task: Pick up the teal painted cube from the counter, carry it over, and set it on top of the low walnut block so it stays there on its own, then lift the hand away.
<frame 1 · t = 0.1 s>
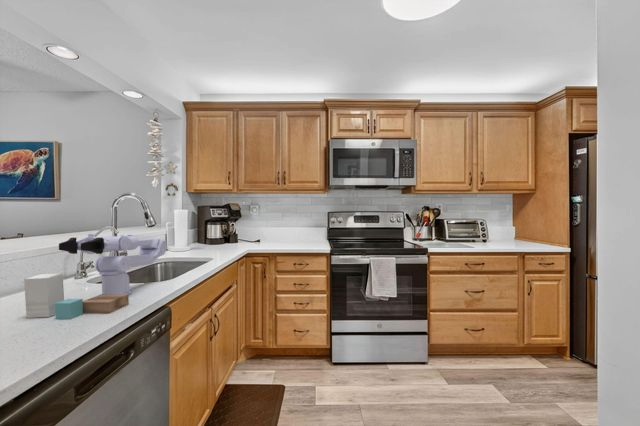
hand: (70, 246, 114), 22 cm above the worktop, tool horizontal, fingers open, 7 cm apart
teal cube: (69, 316, 110), on the worktop
supplement box: (46, 314, 113), on the worktop
walnut block: (105, 309, 117), on the worktop
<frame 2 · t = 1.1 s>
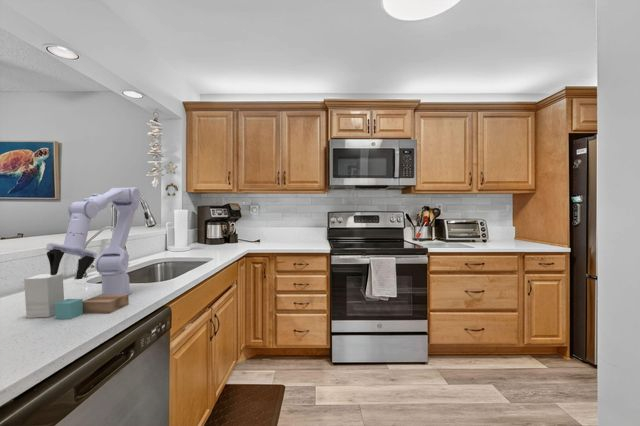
hand: (66, 277, 110), 13 cm above the worktop, tool tilted 20°, fingers open, 7 cm apart
nothing on the worktop moved.
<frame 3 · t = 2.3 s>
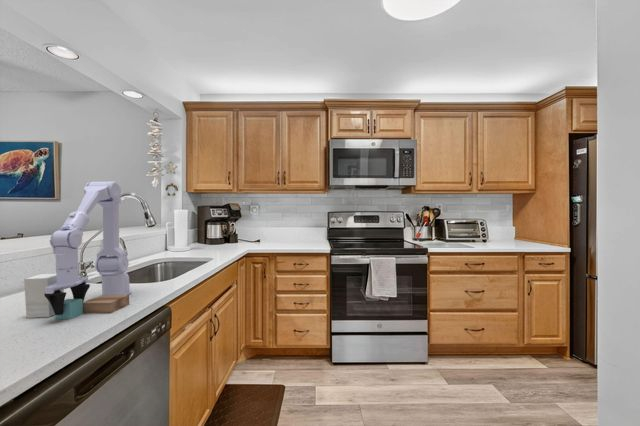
hand: (69, 310, 110), 2 cm above the worktop, tool pointing down, fingers open, 7 cm apart
walnut block: (106, 310, 118), on the worktop, touching gripper
everything else where it was.
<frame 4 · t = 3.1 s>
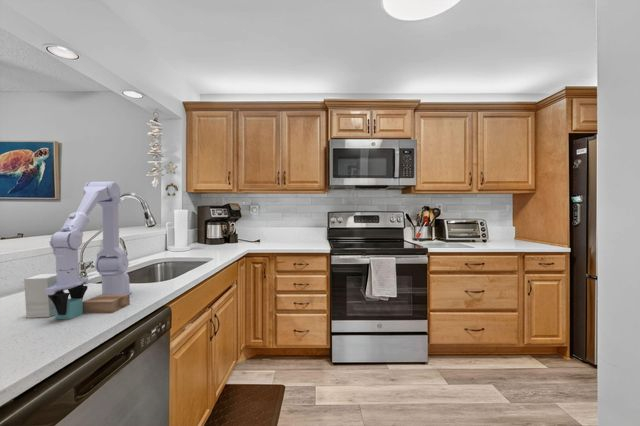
hand: (69, 311, 110), 1 cm above the worktop, tool pointing down, fingers closed on teal cube, 5 cm apart
teal cube: (69, 316, 110), on the worktop, touching gripper
walnut block: (106, 309, 118), on the worktop
everything else where it was.
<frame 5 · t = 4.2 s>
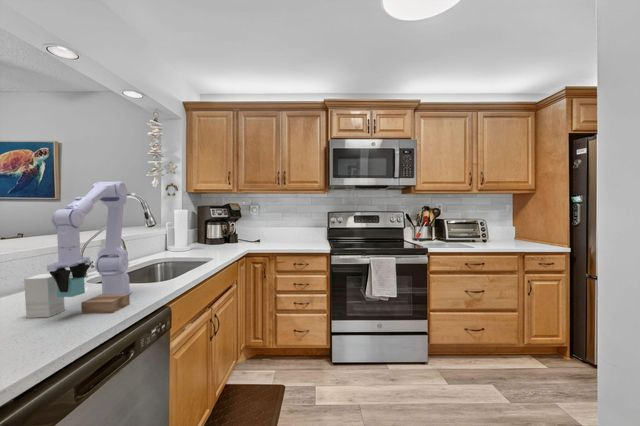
hand: (71, 289, 110), 8 cm above the worktop, tool pointing down, fingers closed on teal cube, 5 cm apart
teal cube: (71, 294, 110), point 7 cm above the worktop, touching gripper
everything else where it was.
when the fingers open (6 cm above the worktop, at t = 5.6 s): teal cube drops 1 cm, point 4 cm above the worktop.
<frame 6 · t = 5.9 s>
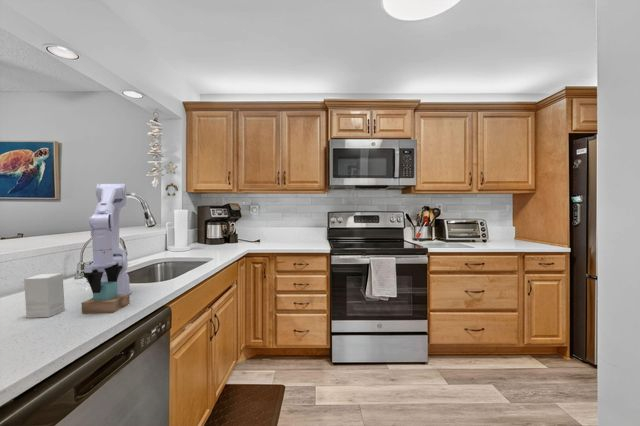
hand: (104, 289, 117), 6 cm above the worktop, tool pointing down, fingers open, 7 cm apart
teal cube: (105, 298, 117), point 4 cm above the worktop
everything else where it was.
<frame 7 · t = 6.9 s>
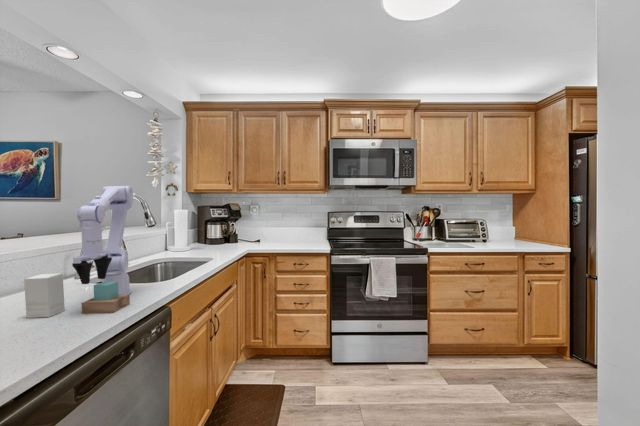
hand: (93, 281, 118), 9 cm above the worktop, tool pointing down, fingers open, 7 cm apart
teal cube: (106, 298, 118), point 4 cm above the worktop, touching walnut block
walnut block: (106, 310, 118), on the worktop, touching teal cube
everything else where it was.
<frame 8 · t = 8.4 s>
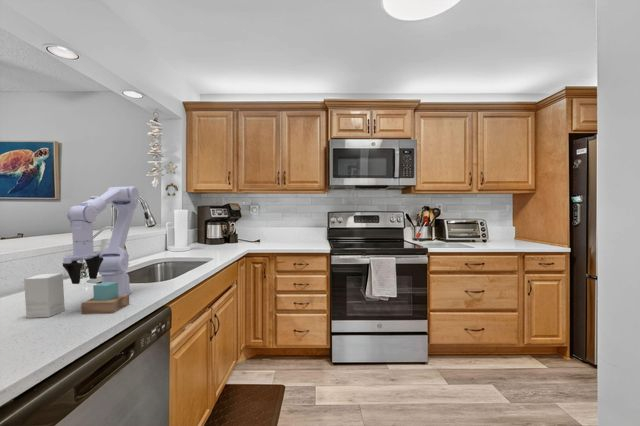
hand: (84, 281, 118), 9 cm above the worktop, tool pointing down, fingers open, 7 cm apart
teal cube: (106, 298, 117), point 4 cm above the worktop
walnut block: (106, 310, 117), on the worktop
everything else where it was.
at the end: teal cube 0.2 cm off-centre on the walnut block, point 4.1 cm above the walnut block's base; teal cube tilted 0°; the gripper is holding nothing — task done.
